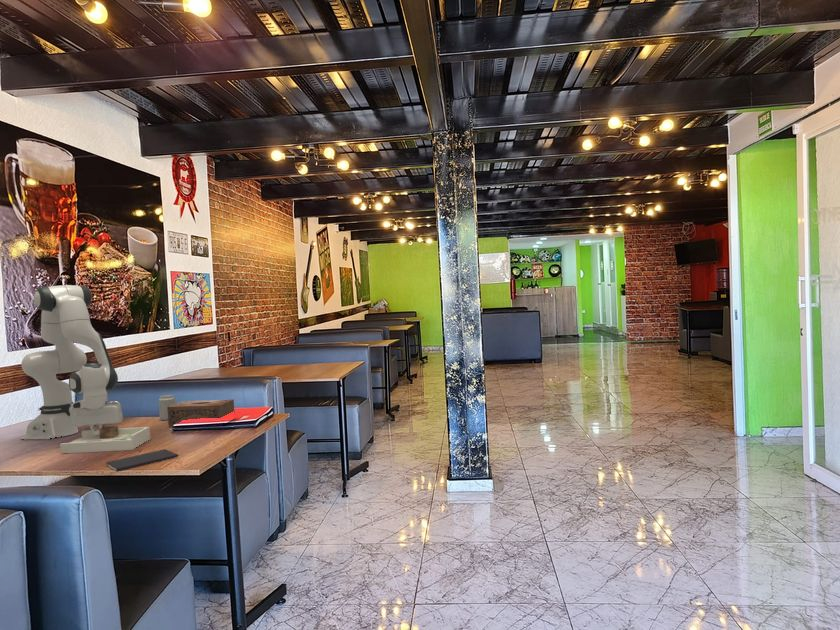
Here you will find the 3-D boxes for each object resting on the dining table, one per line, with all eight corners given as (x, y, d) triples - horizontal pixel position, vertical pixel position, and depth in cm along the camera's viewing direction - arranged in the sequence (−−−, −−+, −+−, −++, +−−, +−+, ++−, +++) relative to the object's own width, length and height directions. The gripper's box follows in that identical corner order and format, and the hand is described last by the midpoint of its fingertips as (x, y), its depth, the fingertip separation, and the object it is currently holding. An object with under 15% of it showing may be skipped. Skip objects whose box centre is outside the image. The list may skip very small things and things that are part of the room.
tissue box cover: (234, 419, 276) (233, 399, 276) (221, 426, 262) (219, 405, 262) (185, 420, 280) (183, 400, 279) (168, 428, 265) (167, 406, 265)
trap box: (61, 453, 225) (60, 440, 225) (83, 443, 241) (82, 430, 241) (132, 449, 226) (131, 436, 226) (150, 439, 242) (149, 426, 242)
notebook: (116, 473, 197) (178, 458, 212) (116, 468, 197) (178, 454, 212) (105, 466, 206) (165, 453, 221) (105, 462, 206) (165, 449, 221)
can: (170, 421, 280) (168, 396, 279) (156, 421, 281) (155, 397, 281) (179, 417, 287) (177, 394, 287) (166, 417, 289) (164, 394, 288)
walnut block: (100, 438, 235) (99, 429, 235) (106, 435, 240) (105, 426, 240) (112, 438, 235) (111, 428, 235) (118, 435, 240) (117, 425, 240)
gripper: (124, 399, 240) (126, 431, 240) (75, 401, 240) (78, 434, 240) (116, 402, 234) (119, 435, 234) (66, 404, 233) (69, 438, 234)
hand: (97, 434), depth 237 cm, fingers closed
